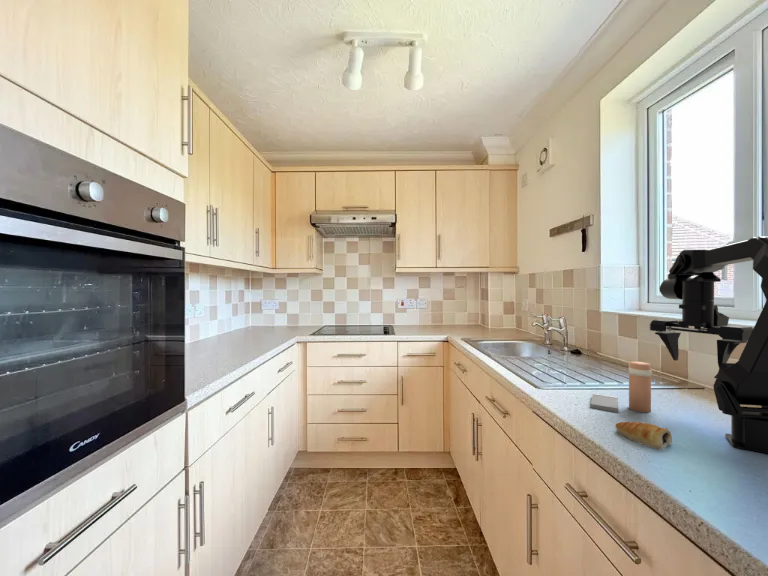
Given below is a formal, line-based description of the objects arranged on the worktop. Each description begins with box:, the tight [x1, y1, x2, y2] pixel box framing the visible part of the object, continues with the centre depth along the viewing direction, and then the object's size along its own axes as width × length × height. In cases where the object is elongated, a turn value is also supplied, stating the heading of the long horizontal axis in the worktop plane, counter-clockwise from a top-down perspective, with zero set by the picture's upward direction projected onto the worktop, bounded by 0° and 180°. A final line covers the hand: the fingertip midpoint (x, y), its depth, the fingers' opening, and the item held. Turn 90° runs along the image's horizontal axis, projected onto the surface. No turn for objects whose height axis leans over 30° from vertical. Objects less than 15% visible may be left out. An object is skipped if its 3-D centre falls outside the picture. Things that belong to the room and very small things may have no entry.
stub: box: [628, 361, 652, 414], centre depth 89 cm, size 5×5×12 cm
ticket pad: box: [590, 393, 619, 413], centre depth 92 cm, size 10×6×1 cm, turn 146°
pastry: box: [615, 421, 673, 450], centre depth 72 cm, size 9×7×4 cm
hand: (697, 364), depth 83 cm, fingers open, 9 cm apart
